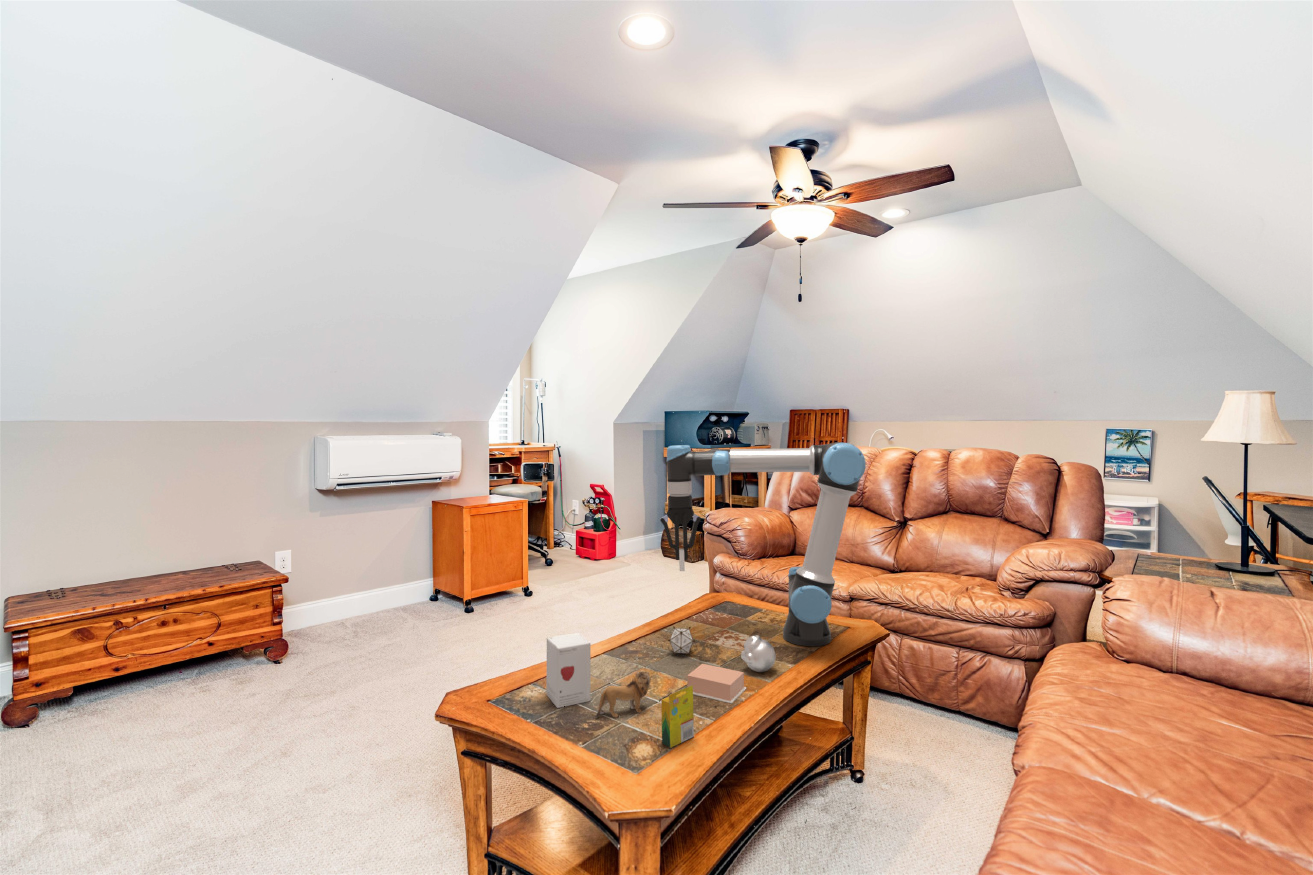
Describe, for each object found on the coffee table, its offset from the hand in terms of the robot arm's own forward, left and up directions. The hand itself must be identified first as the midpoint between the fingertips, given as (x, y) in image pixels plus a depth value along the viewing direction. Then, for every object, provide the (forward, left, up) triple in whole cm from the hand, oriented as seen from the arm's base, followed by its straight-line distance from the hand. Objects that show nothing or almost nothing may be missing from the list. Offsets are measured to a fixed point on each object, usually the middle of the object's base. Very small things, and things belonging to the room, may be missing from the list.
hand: (682, 570), depth 193 cm
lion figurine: (+16, +44, -24) cm, 52 cm away
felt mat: (-8, +33, -24) cm, 41 cm away
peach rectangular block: (-2, +29, -22) cm, 36 cm away
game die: (0, +7, -24) cm, 25 cm away
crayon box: (+3, +58, -24) cm, 63 cm away
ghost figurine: (-21, +20, -24) cm, 37 cm away
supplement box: (+30, +37, -24) cm, 53 cm away
